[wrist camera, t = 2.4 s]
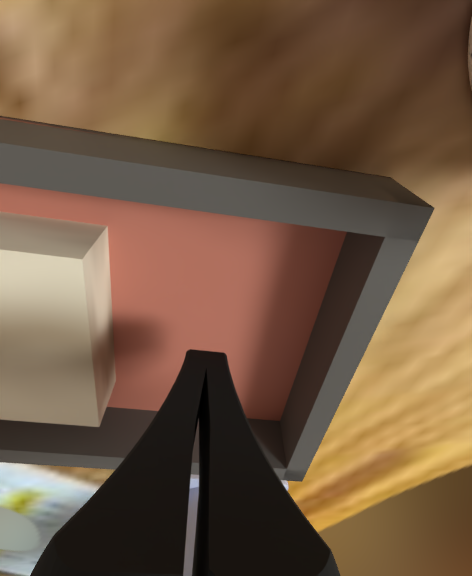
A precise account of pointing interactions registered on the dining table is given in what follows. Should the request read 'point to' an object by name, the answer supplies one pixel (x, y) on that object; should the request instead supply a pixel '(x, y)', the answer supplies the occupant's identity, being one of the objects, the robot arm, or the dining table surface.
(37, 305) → the slab
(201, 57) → the dining table surface
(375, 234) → the grey and pink tray
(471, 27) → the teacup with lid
